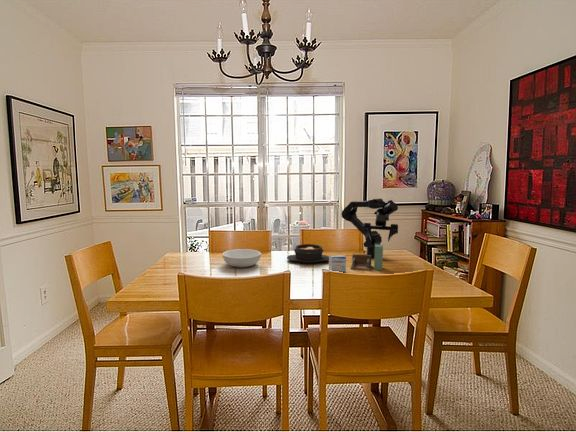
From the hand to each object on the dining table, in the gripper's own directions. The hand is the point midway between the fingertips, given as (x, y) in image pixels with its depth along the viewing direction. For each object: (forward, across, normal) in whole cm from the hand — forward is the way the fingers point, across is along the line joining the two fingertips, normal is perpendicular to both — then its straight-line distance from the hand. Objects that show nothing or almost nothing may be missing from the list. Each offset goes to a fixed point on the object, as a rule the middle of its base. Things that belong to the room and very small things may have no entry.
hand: (379, 240), depth 195 cm
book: (+15, 0, +4) cm, 16 cm away
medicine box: (+25, -20, -5) cm, 32 cm away
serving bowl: (+26, -72, -6) cm, 77 cm away
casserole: (+12, -39, +8) cm, 42 cm away
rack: (+15, -9, +4) cm, 18 cm away
